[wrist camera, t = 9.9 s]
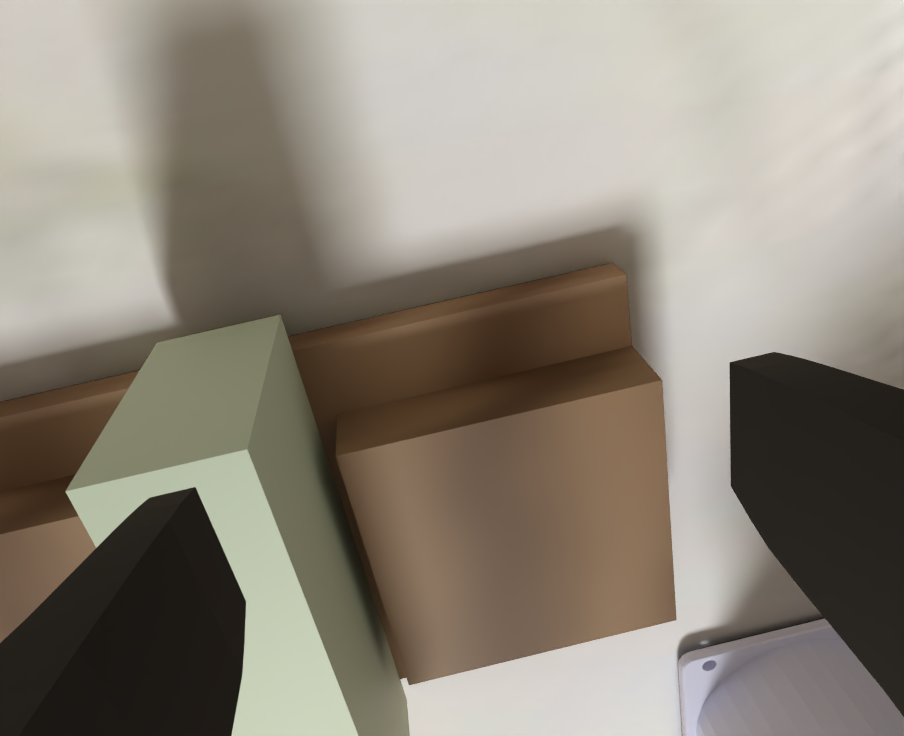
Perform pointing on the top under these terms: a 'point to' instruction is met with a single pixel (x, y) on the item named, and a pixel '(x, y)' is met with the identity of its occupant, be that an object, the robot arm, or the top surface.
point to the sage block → (256, 524)
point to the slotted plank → (434, 472)
